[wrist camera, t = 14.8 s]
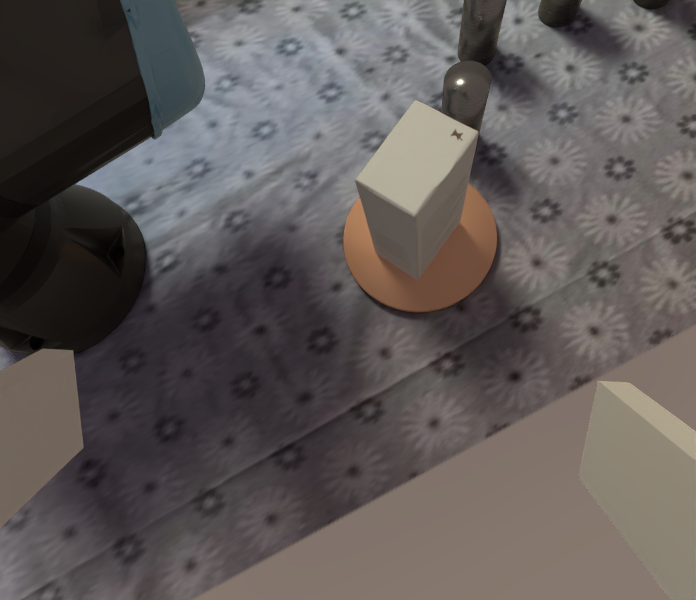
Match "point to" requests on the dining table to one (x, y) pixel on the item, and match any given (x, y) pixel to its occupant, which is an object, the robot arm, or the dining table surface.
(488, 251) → the saucer
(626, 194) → the dining table surface
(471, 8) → the set of grey cylinders
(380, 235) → the skincare box
